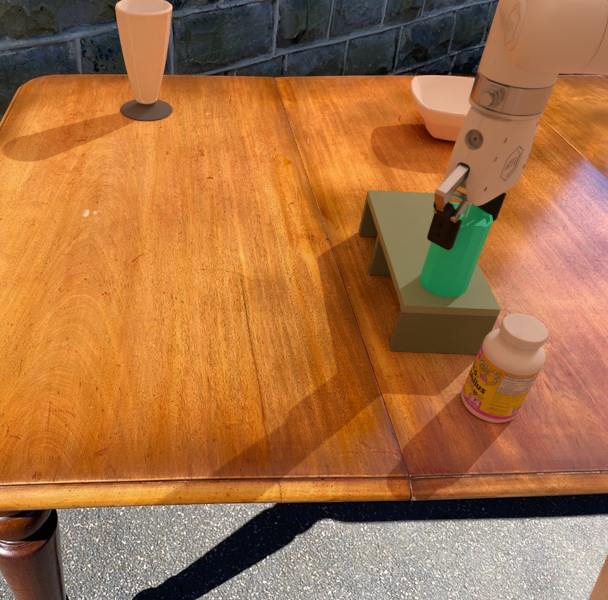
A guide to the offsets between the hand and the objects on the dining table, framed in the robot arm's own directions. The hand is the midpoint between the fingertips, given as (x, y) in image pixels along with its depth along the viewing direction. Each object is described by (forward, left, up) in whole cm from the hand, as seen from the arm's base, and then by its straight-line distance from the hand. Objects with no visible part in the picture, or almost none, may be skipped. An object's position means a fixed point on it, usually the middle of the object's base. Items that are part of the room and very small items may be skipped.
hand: (461, 230), depth 77 cm
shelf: (+7, -6, -16) cm, 19 cm away
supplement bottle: (-13, +6, -16) cm, 22 cm away
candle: (0, 0, -8) cm, 8 cm away
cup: (+81, -12, -16) cm, 83 cm away
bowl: (+33, -57, -16) cm, 68 cm away
